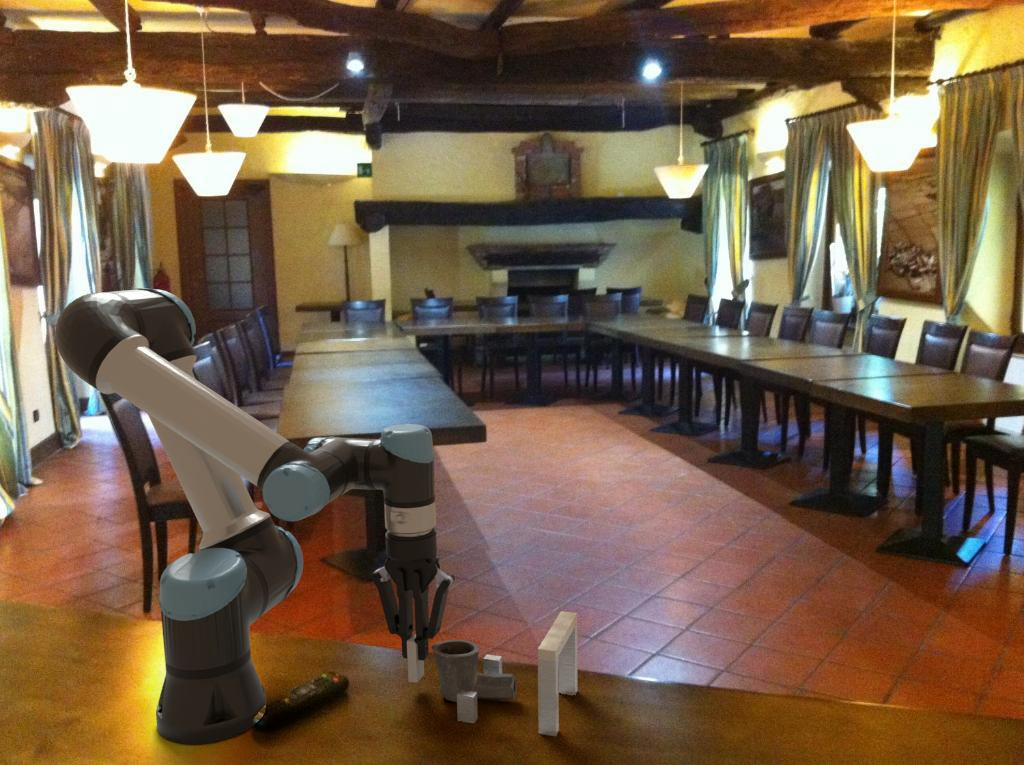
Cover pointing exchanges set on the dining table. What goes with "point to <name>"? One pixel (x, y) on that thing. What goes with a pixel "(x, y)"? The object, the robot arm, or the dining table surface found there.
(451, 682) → the pipe
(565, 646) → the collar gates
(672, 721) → the dining table surface
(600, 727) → the dining table surface
